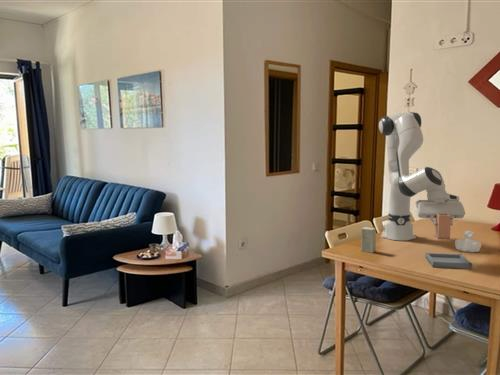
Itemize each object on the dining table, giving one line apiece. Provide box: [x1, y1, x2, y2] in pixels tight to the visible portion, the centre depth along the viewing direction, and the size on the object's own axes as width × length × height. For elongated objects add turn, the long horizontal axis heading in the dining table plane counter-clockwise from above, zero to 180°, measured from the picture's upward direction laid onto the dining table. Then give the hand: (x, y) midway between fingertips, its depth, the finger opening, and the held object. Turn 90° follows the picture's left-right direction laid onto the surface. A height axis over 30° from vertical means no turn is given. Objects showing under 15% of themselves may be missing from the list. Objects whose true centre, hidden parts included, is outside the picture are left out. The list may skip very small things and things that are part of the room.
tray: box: [424, 252, 473, 270], centre depth 186 cm, size 14×16×2 cm
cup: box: [434, 214, 452, 240], centre depth 183 cm, size 5×5×11 cm
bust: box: [454, 230, 482, 253], centre depth 205 cm, size 12×8×11 cm
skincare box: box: [360, 226, 377, 254], centre depth 206 cm, size 6×4×12 cm
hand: (443, 224), depth 183 cm, fingers closed on cup, 5 cm apart
